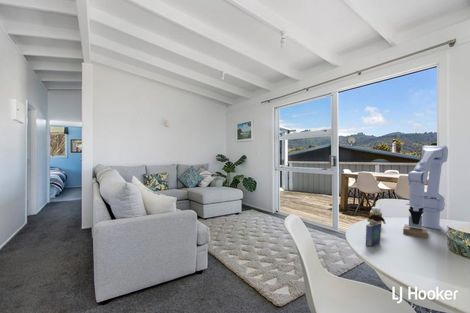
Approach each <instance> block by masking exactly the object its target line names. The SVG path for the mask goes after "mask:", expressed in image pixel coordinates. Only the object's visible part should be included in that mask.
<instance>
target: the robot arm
mask: <svg viewBox="0 0 470 313" xmlns="http://www.w3.org/2000/svg"><path fill="white" fill-rule="evenodd" d="M421 155H422V159H421V160H420V161H418V162H417V163H416V165H415V166H414V168H413V170H411V171H409V172H408V174H407V181H408V186H409V199H408V200H409V201H408V202H406V206H407V205H408V206H409V208H408V211H409V214H411V217H412V222H413V224H417V225H418V224H419V221H420V217H421V216H422V227H423V228H428V229H433V230H441V229H442V228H441V224H440V220H441V212H443V211H444V210H445V206H446V203H445V196H443V195H442V194H441V193H439V189H440V182H441V176H442V175H441V174H442V167H443V164H444V163H447V161H448V156H449V149H448V146H447V145H445V144H444V145H423V146H422V148H421ZM425 184H427V185H425ZM425 186H426V189H425ZM425 190H426V191H425Z"/></svg>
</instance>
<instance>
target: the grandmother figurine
mask: <svg viewBox="0 0 470 313" xmlns="http://www.w3.org/2000/svg"><path fill="white" fill-rule="evenodd" d="M380 212H382V211H381V209H380V210H379V209H378V208H374V209H373V213H374V215H371V216H370V215H369V217H368V218H367V222H368V223H370V220H371V219H373V220H374V221H375V222H379V223H380V220H381V221H382V223H383V225H385V224H386V220H385V219H384V218H383V216H382V217H381V216H379V213H380Z"/></svg>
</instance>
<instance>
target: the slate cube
mask: <svg viewBox="0 0 470 313" xmlns="http://www.w3.org/2000/svg"><path fill="white" fill-rule="evenodd" d="M408 214H409V215H408V225H409V226H412V227H417V228H422V215H421V217H420V221H419V224H418V225H417V224H413V222H412V217H411V214H410V213H408Z"/></svg>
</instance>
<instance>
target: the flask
mask: <svg viewBox="0 0 470 313" xmlns="http://www.w3.org/2000/svg"><path fill="white" fill-rule="evenodd" d="M371 220H372V221H371ZM371 220H370V221H371V223H370V221H369V223H370V224H369V223H368V224H366V226H365V227H366V229H365V246H366V247H374V246H376V245H379V244H380V245H381V232H382V230H381V229H382V224H381V223H379V222H375V221H374V220H373V219H371Z"/></svg>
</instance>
